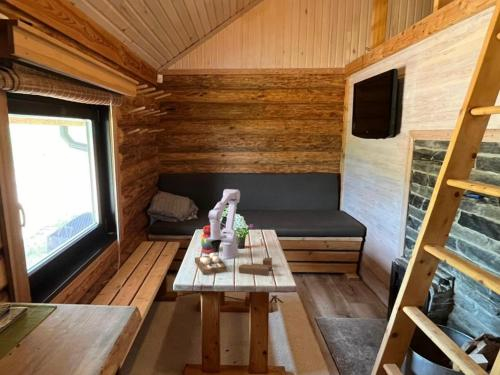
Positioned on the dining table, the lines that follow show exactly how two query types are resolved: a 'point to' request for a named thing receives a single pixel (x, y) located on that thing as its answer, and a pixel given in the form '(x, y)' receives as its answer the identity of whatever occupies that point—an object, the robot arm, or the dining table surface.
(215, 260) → the button
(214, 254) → the button
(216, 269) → the button board
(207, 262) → the button
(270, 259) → the wooden block set
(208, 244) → the stacking bear
